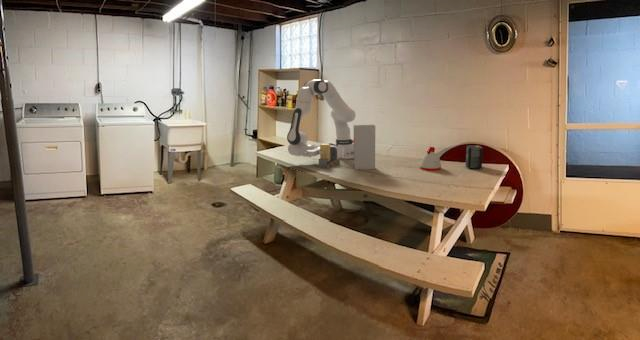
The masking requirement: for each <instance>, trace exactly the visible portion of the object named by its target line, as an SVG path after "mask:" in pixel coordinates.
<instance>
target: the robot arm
mask: <svg viewBox="0 0 640 340" xmlns="http://www.w3.org/2000/svg"><path fill="white" fill-rule="evenodd" d="M296 95H297V96H296V102H295V107H294V111H293V113H292V117H291V122H290V128H289V131H288V132H287V135H286V138H287V139H286V140H287V143H288V146H287V150H288V151H287V152H288V153H289V155H291V156H295V157H306V158H312V157H317V156H320V154H325V151H320V145H316V144H307V143H308V135H307V133H306V132H304V131H300V126H301V121H302V118H303V117H304V116H307V115H308V114H309V113H310V111H311V108H312V98H313V97H314V96H317V95H322V97H323V98H324V100H325V101H326V103H327V105H328V106H329V108H331V109H332V110H331V111H330V116H331V118H332V120H333V122H334V126H335V133H336V134H335V136H336V137H335V147H336V148H337V159H338V158H340V159H343V160H347V159H354V139H352V138H351V128H350V126H349V123H350V122H353V121H354V120H355V119H356V112H355V110H353V108H351V107H350V106H349V105H348V104H347V103H346V101H345V100H343V98H342V97H341V95H340V93H339V92H338V89H336V87H335V86H334V84H333V83H332V82H331V81H330V80H325V79H324V80H323V79H320V78H319V79H312V80H308V81H306V82H304V84H303V86H302V87H300V88H299V89H298V91H297V94H296Z"/></svg>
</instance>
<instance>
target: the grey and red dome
mask: <svg viewBox="0 0 640 340" xmlns="http://www.w3.org/2000/svg"><path fill="white" fill-rule="evenodd" d="M435 150H436V147H434V146H429V149H428V150H427V152H426V153H425V154H424V155H423V157H422V158H420V159H421V160H420V164H419V169H420V170H422V171H428V172H431V171H432V172H436V171H441V169H442V164H441V163H442V162H441V159H440V158H439V156H438V154H436V152H435Z"/></svg>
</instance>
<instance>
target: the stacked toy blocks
mask: <svg viewBox="0 0 640 340" xmlns="http://www.w3.org/2000/svg"><path fill="white" fill-rule="evenodd" d="M340 159H341V158H337V148H336V146H331V145H330V161H328V164H327V168H326V169H330V168H332V167H333V166H334V167H335V165H338V164H339V163H340V162H341V161H340ZM314 168H317V169H318V168H319V165H317V166H316V167H314ZM319 169H320V168H319Z"/></svg>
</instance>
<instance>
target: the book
mask: <svg viewBox="0 0 640 340" xmlns="http://www.w3.org/2000/svg"><path fill="white" fill-rule="evenodd" d="M319 146H320V151H325V154H319V159H320V158H323V159H328V161H330V146H331V144H329V143H320V144H319Z"/></svg>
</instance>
